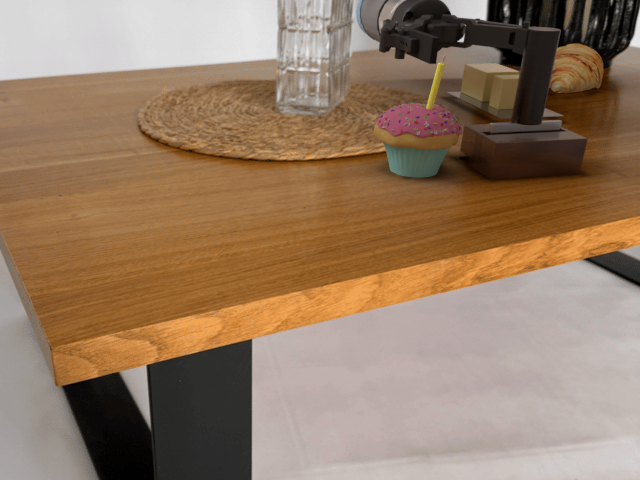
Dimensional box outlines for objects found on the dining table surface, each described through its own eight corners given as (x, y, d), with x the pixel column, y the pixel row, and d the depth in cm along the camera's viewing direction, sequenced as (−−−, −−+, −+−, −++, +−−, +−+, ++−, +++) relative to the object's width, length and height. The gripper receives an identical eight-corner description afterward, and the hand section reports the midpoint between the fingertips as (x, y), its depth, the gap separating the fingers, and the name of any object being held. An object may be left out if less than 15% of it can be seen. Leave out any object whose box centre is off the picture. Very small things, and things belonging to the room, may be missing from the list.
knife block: (541, 156, 77) (548, 121, 75) (578, 176, 71) (588, 138, 69) (458, 161, 75) (464, 124, 73) (490, 182, 69) (496, 143, 67)
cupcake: (470, 173, 71) (489, 52, 66) (423, 192, 66) (440, 63, 60) (401, 155, 77) (414, 42, 71) (353, 171, 71) (363, 51, 66)
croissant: (574, 126, 102) (614, 80, 97) (518, 88, 103) (554, 40, 98) (583, 95, 119) (617, 55, 114) (534, 63, 120) (566, 21, 115)
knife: (543, 162, 75) (572, 26, 68) (558, 171, 72) (591, 30, 66) (475, 166, 74) (498, 27, 67) (489, 175, 71) (514, 31, 64)
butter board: (445, 100, 102) (450, 63, 99) (500, 98, 103) (507, 62, 101) (499, 128, 88) (507, 86, 85) (562, 125, 89) (572, 84, 87)
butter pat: (488, 105, 94) (493, 75, 92) (522, 104, 94) (527, 74, 93) (498, 109, 91) (503, 78, 90) (532, 108, 92) (538, 77, 90)
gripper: (494, 51, 98) (585, 81, 80) (326, 55, 93) (381, 87, 75) (504, -6, 94) (601, 12, 76) (329, -5, 90) (388, 14, 72)
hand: (492, 49), depth 76 cm, fingers open, 13 cm apart
